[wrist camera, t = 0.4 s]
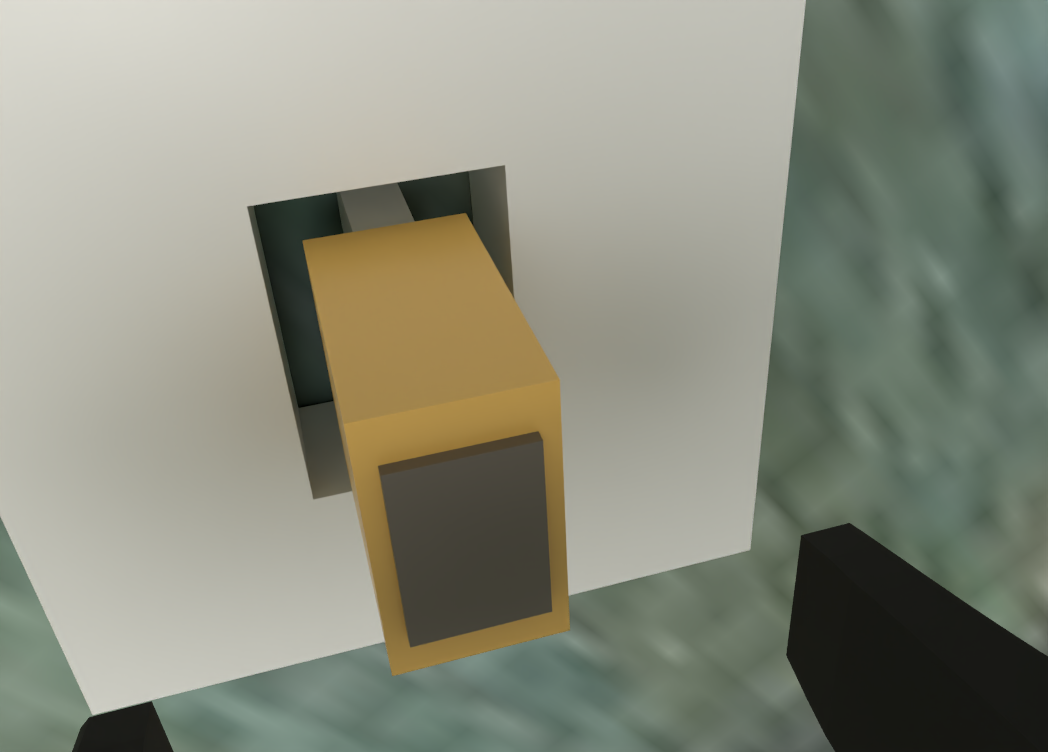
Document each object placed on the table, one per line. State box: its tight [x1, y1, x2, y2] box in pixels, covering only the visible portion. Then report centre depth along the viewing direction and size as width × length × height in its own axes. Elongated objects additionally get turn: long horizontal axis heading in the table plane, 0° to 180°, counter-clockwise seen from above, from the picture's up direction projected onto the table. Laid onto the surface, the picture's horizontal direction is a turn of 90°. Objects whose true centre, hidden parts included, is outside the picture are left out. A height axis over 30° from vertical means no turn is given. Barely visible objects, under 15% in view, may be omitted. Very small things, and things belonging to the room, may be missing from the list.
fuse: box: [302, 182, 570, 676], centre depth 16 cm, size 3×4×8 cm, turn 4°
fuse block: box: [0, 0, 806, 715], centre depth 18 cm, size 14×14×3 cm
